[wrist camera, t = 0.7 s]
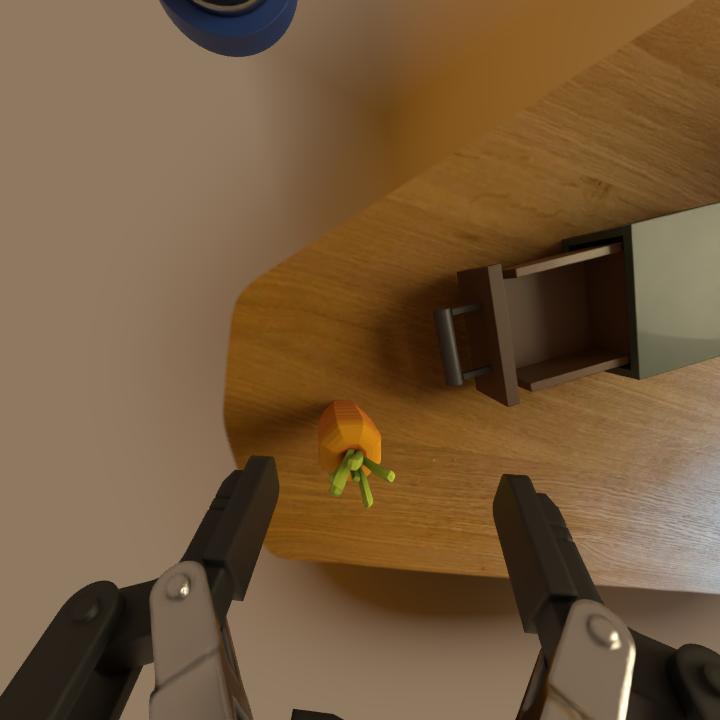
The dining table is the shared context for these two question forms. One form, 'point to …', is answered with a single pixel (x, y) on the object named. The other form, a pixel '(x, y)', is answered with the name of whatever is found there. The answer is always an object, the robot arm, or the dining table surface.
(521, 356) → the drawer
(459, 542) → the dining table surface
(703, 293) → the cabinet
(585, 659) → the robot arm
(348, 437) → the carrot
